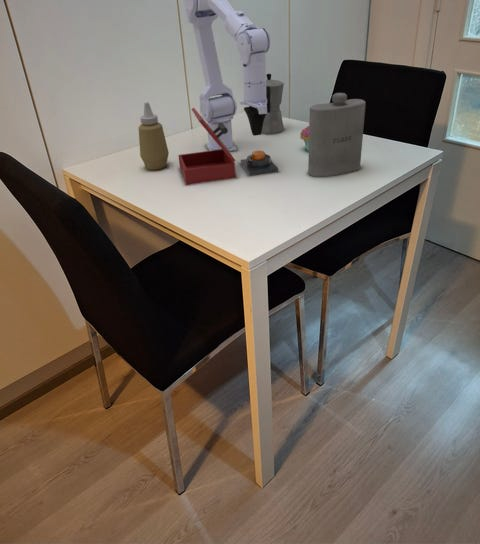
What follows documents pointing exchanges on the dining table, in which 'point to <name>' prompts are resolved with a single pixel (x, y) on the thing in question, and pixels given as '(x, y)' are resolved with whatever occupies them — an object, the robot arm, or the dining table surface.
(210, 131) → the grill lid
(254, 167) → the switch box
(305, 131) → the cupcake
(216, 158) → the maroon rectangular box
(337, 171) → the flask
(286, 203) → the dining table surface
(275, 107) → the coffeepot
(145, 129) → the squeeze bottle
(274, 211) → the dining table surface
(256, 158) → the power button
